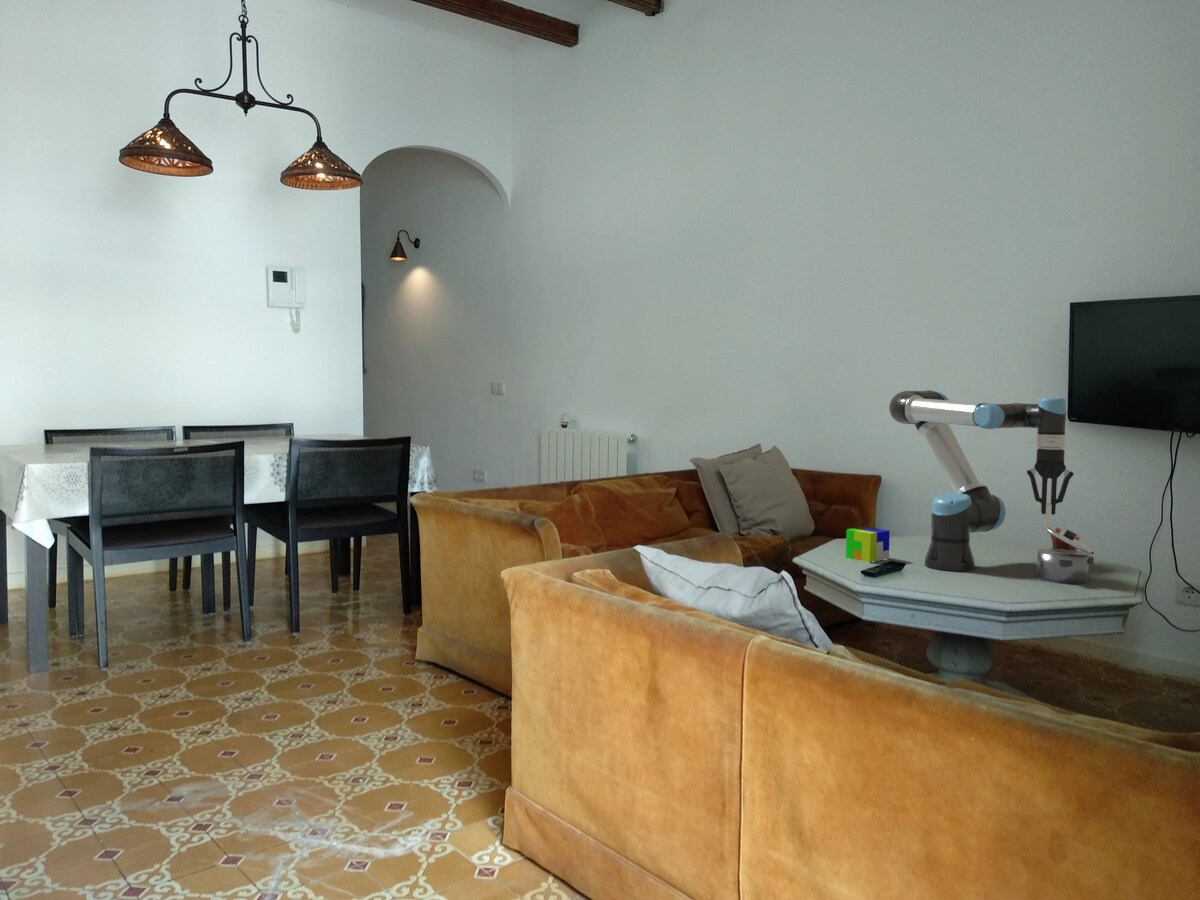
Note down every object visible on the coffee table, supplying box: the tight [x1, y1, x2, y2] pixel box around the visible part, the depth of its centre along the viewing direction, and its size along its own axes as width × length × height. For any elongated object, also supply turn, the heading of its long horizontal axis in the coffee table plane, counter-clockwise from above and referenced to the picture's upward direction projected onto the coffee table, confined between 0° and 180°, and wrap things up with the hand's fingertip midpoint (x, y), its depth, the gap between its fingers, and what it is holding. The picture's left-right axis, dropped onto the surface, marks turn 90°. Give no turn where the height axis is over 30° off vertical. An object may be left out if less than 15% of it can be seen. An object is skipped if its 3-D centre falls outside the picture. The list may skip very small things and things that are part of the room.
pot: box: [1035, 548, 1095, 585], centre depth 265 cm, size 15×19×8 cm
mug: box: [1049, 533, 1081, 551], centre depth 281 cm, size 12×9×10 cm
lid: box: [1042, 524, 1095, 555], centre depth 264 cm, size 15×15×3 cm
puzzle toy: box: [845, 526, 891, 562], centre depth 295 cm, size 10×10×10 cm
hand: (1047, 524), depth 266 cm, fingers closed
